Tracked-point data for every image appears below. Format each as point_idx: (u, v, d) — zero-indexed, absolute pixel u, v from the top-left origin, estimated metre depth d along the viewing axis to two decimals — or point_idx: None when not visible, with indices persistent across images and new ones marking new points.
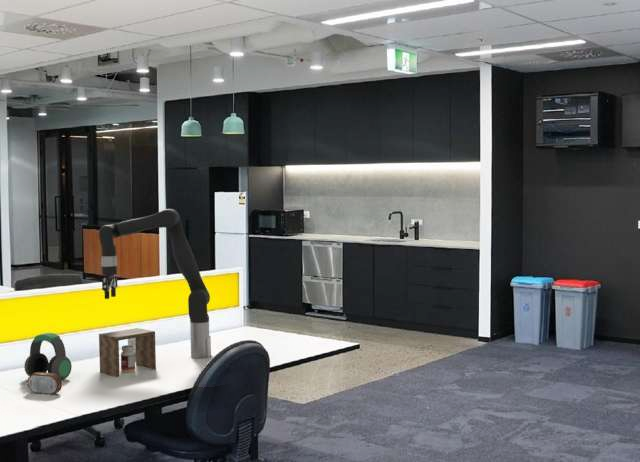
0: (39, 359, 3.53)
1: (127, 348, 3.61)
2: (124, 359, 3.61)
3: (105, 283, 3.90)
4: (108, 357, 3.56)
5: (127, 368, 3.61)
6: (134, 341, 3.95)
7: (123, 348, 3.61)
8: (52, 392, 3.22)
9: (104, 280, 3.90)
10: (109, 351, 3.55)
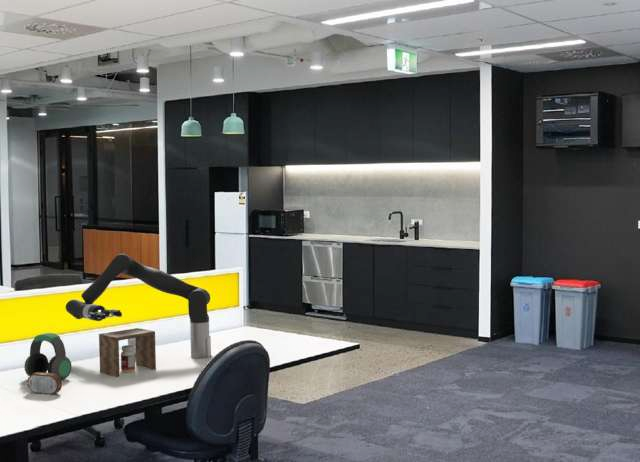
0: (39, 359, 3.53)
1: (127, 348, 3.61)
2: (124, 359, 3.61)
3: (90, 314, 3.71)
4: (108, 357, 3.56)
5: (127, 368, 3.61)
6: (134, 341, 3.95)
7: (123, 348, 3.61)
8: (52, 392, 3.22)
9: (89, 315, 3.72)
10: (109, 351, 3.55)
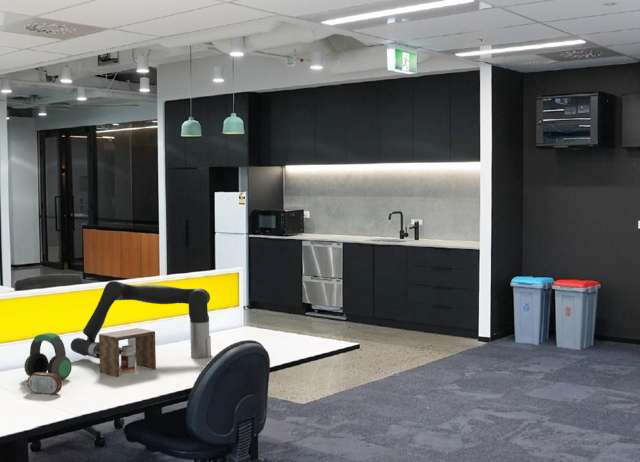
0: (39, 359, 3.53)
1: (127, 348, 3.61)
2: (124, 359, 3.61)
3: (96, 354, 3.69)
4: (108, 357, 3.56)
5: (127, 368, 3.61)
6: (134, 341, 3.95)
7: (123, 348, 3.61)
8: (52, 392, 3.22)
9: (94, 354, 3.70)
10: (109, 351, 3.55)
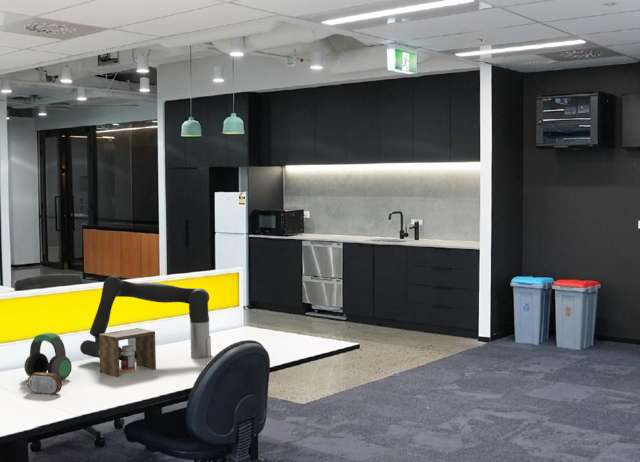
0: (39, 359, 3.53)
1: (127, 348, 3.61)
2: None
3: None
4: (108, 357, 3.56)
5: (127, 368, 3.61)
6: (134, 341, 3.95)
7: (123, 348, 3.61)
8: (52, 392, 3.22)
9: None
10: (109, 351, 3.55)
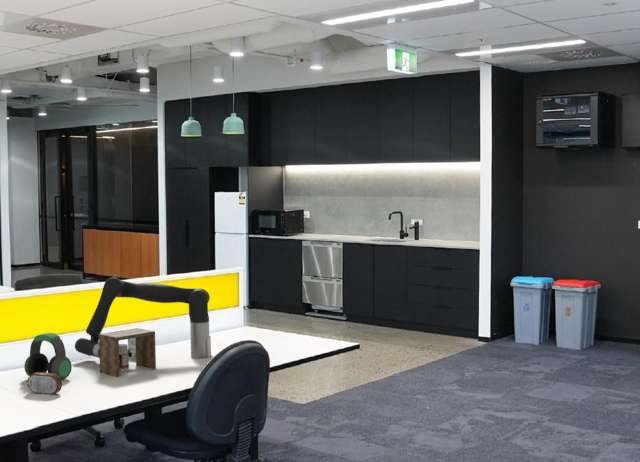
0: (39, 359, 3.53)
1: (121, 347, 3.64)
2: None
3: None
4: (108, 357, 3.56)
5: (121, 367, 3.64)
6: (134, 341, 3.95)
7: None
8: (52, 392, 3.22)
9: None
10: (109, 351, 3.55)
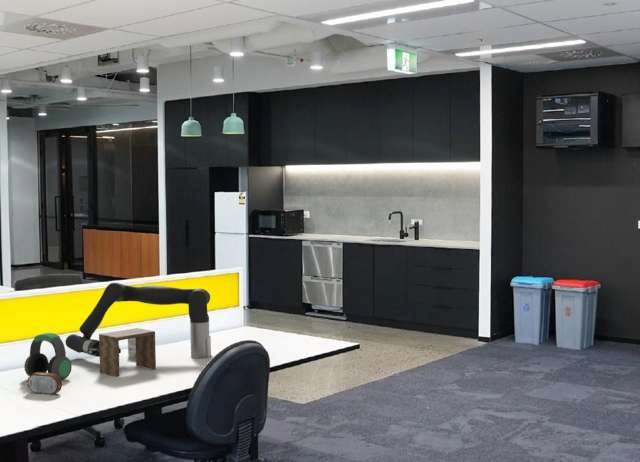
0: (39, 359, 3.53)
1: None
2: None
3: (92, 351, 3.72)
4: (108, 357, 3.56)
5: None
6: (134, 341, 3.95)
7: None
8: (52, 392, 3.22)
9: (90, 352, 3.73)
10: (109, 351, 3.55)
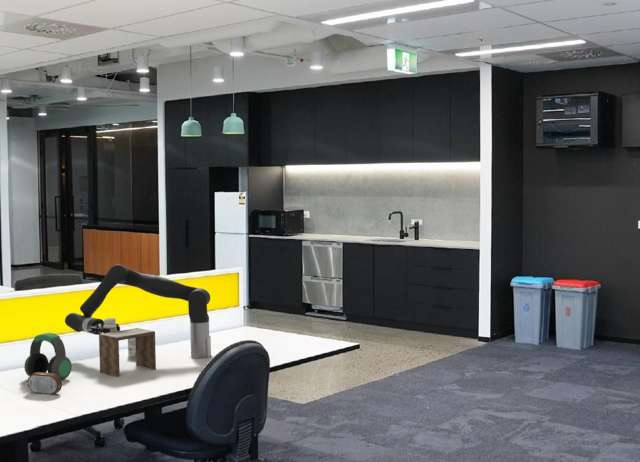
0: (39, 359, 3.53)
1: (109, 321, 3.70)
2: None
3: (91, 328, 3.71)
4: (108, 357, 3.56)
5: None
6: (134, 341, 3.95)
7: (105, 321, 3.70)
8: (52, 392, 3.22)
9: (89, 329, 3.72)
10: (109, 351, 3.55)
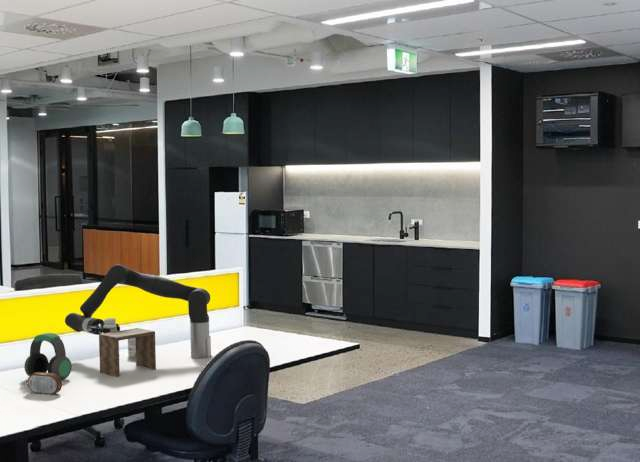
0: (39, 359, 3.53)
1: (109, 321, 3.70)
2: None
3: (91, 328, 3.71)
4: (108, 357, 3.56)
5: None
6: (134, 341, 3.95)
7: (105, 321, 3.70)
8: (52, 392, 3.22)
9: (89, 329, 3.72)
10: (109, 351, 3.55)
